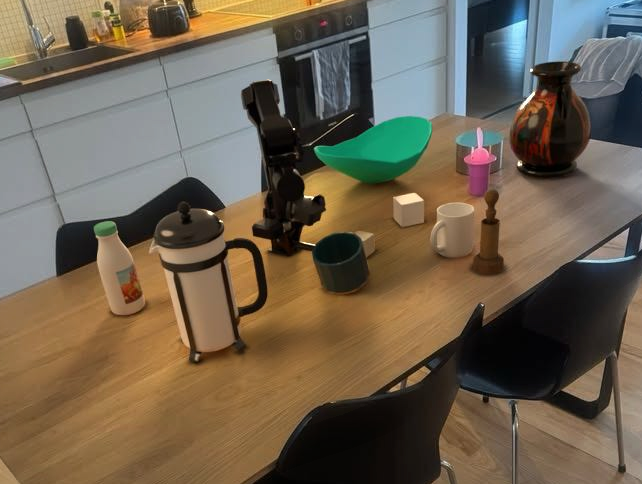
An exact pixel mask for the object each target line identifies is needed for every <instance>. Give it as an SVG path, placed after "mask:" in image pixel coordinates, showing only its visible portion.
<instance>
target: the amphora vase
mask: <svg viewBox="0 0 642 484" xmlns="http://www.w3.org/2000/svg"><path fill="white" fill-rule="evenodd" d="M581 71H582V66H581V65H580V64H579V63H577V62H572V61H547V62H541V63H538V64H535V65H533V66H532V67H531V68H530V70H529V73H530V74H531V76H534V77H536V87H535V88H534V90H533V91H532V93H531V94H530V95H529V96H528V97H527V98H526V99H525V100H524V101H523V102H522V103H521V104H520V106H519V107H518V108H517V110H516V112H515V113H514V115H513V118H512V120H511V126H510V129H509V137H508V138H509V146H510V149H511V151H512V153H513V154H514V156H515V157H516V158H517V159H518V161H517V163H516V170H517V171H518V172H519V174H522V175H523V176H525V177H529V178H534V179H541V180H547V179H550V180H551V179H558V178H563V177H566V176H568V175H571V174H572V173H574V172H575V171H576V169H577V167H578V163H577V161H576V160H577V159H578V158H579V157H580V156H581V155H582V154H583V153H584V151H585V150H586V149H587V148H588V145H589V143H590V139H591V134H592V130H591V129H592V126H591V117H590V113H589V111H588V110H589V109H588V108H587V105H586V104H585V102H584V101H583V100H582V98H581V97H580V96H579V95H578V94H577V92H576V91H575V89H574V87H573V86H572V81H573V77H574V76H575V75H577V74H579V73H580V72H581Z"/></svg>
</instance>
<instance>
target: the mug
mask: <svg viewBox="0 0 642 484" xmlns="http://www.w3.org/2000/svg"><path fill="white" fill-rule="evenodd" d="M474 223H475V207H474V206H473V205H472V204H469V203H466V202H449V203H445V204H442V205H440V206H439V207H437V209H436V223H435V225H434V226H433V228H432V230H431V232H430V237H429V244H430V248H431V249H432V250H433V252H436V253H438V254H439V255H440V256H442V257H444V258H450V259H457V258H458V259H460V258H464V257H466V256H469V255H470V254H471V253H472V252H473V248H474V228H475V226H474V225H475V224H474Z"/></svg>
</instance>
